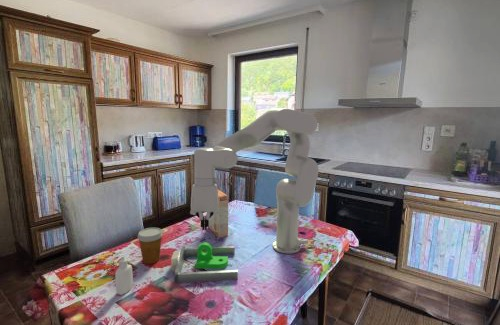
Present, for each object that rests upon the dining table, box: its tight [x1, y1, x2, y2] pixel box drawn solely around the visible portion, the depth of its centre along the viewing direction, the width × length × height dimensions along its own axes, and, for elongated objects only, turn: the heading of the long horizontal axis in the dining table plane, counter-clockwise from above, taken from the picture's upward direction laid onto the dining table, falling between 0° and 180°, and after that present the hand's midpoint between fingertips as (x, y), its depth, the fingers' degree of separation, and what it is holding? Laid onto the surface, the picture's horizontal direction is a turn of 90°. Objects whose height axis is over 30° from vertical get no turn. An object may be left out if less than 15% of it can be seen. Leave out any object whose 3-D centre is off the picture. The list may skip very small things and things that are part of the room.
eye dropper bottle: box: [114, 255, 134, 296], centre depth 87 cm, size 4×6×12 cm
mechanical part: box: [195, 242, 229, 270], centre depth 103 cm, size 12×6×8 cm, turn 91°
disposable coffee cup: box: [137, 227, 164, 265], centre depth 106 cm, size 10×10×12 cm
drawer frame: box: [170, 245, 239, 284], centre depth 102 cm, size 24×20×5 cm
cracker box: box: [208, 189, 229, 239], centre depth 133 cm, size 14×6×21 cm, turn 27°
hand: (204, 228), depth 100 cm, fingers closed
